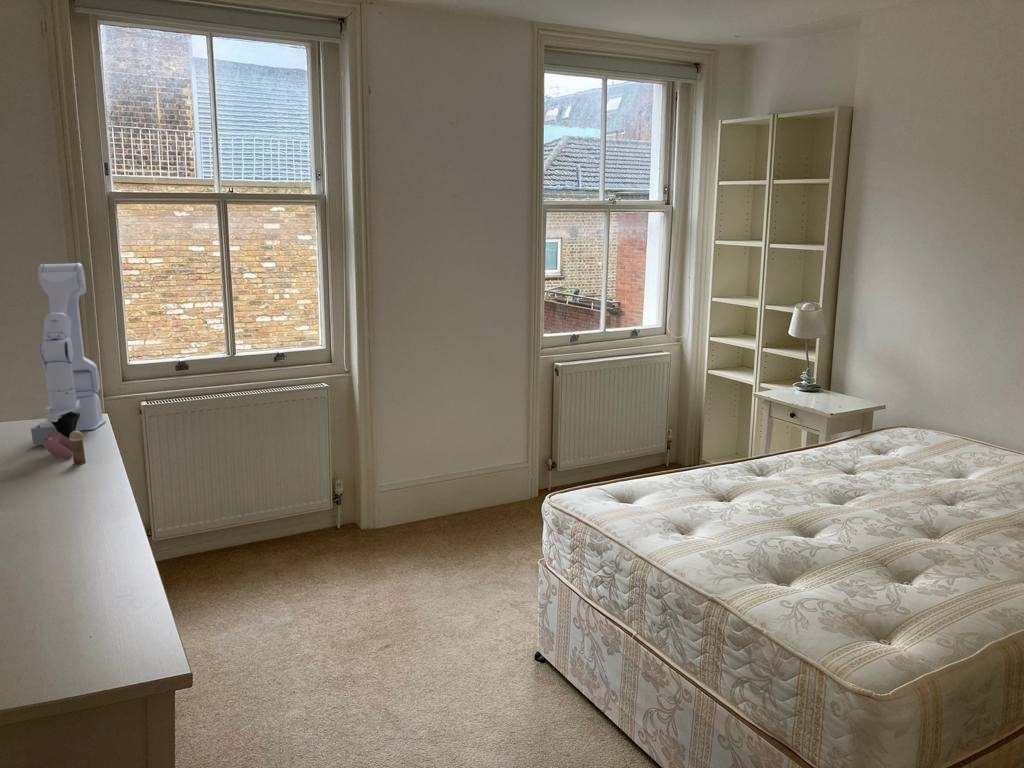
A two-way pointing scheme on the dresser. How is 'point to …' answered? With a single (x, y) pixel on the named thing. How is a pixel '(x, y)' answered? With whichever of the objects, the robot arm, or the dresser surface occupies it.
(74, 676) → the dresser surface
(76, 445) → the post
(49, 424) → the dome
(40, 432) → the hollow square tube
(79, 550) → the dresser surface
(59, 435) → the video game controller
